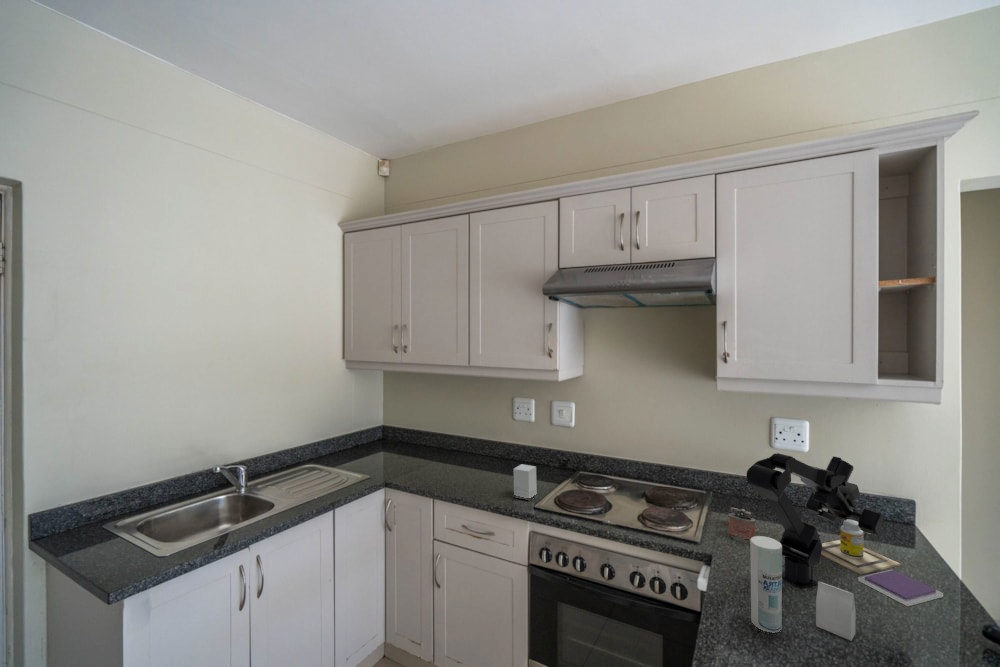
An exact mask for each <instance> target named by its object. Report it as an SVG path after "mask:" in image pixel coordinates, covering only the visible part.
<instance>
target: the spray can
mask: <svg viewBox="0 0 1000 667" xmlns="http://www.w3.org/2000/svg"><path fill="white" fill-rule="evenodd" d="M749 544H750V545H749V546H750V549H749V550H750V551H749V553H750V560H749V561H750V620H751V624H752V623H753V624H754V625H755V626H756V627H758V628H759V629H761V630H763V631H767V632H772V633H775V632H779V631H780V630H781V631H782V627H783V626H782V623H783V622H782V620H783V619H782V618H783V617H782V614H783V613H782V610H783V605H782V604H783V603H782V602H783V601H782V600H783V593H782V591H783V590H782V589H783V578H782V573H783V555H782V545H781V543H780V541H778V540H777V539H774V538H773V537H772V538H771V537H768V536H764V535H755V536H754V537H752V538H751V540H750V543H749ZM753 624H752V625H753ZM756 627H755V628H756ZM781 631H780V632H781Z"/></svg>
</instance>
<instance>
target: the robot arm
mask: <svg viewBox="0 0 1000 667" xmlns="http://www.w3.org/2000/svg"><path fill="white" fill-rule="evenodd" d="M777 469H780V470H782V471H783V472H782V471H780V470H777ZM853 471H854V466H853V465H852V464H850V463H849V462H848V461H845V460H843V459H842V458H841V457H840V456H839V457H838V456H835V455H834V456H832V458H831V459H830V460H829V463H828V465H827V466H826V469H824V468H820V467H816V466H814V465H813V466H812V465H808V463H807V464H806V463H804V462H803V461H800V460H798V459H796V458H795V457H793V456H792V455H787V454H782V453H779V452H777V453H773V454H771V456H769V457H767V458H764V459H761V460H758V461H756V462H755V463H753V464H752V465H751V466H750V467H749V468H748V469H747V471H746V481H747V482H748V485H749V486H750V487H751V488H752V489H753V490H755V491H756V492H757V493H759V494H761V495H762V496H763V497H765V499H766V501H767V503H768V505H769V506H770V508H771V509H772V511H773V512H774V515H775V516H776V518H777V519H778V521H779V522H780V524H781V526H782V527H783V529H784V531H783V532H782V537H781V539H780V541H779V542H780V543H781V545H782V556H784V573H783V572H782V579H784V580H785V581H787V582H789V583H790V584H792V585H794V587H797V588H798V589H803V588H808V587H812V586H818V581H816V580H815V579H813V577H814V566H816V565H819V564H820V560H821V556H822V555H821V551H822V540H821V538H820V537H821V534H819V533H818V530H817V529H816V527H815V526H814V525H813V524H809V523H807V522H804V521H803V520H802V519H801V518H800V516H799V514H798V512H797V511H796V508H795V507H794V506H793V504H792V501H791V500H790V498H789V497H788V495H787V493H786V491H785V490H786V489H787V487H788V485H790V483H791V482H792V475H793V476H796V477H798V478H800V479H799V480H800V481H801V482H802V483H803V484H804V485H806V486H809V487H813V488H814V491H813V492H810V494H809V496H808V498H807V500H806V502H805V504H804V505H805V509H806V510H807V511H808V512H809V513H812V514H814V515H816V516H818V517H821V518H823V519H826V520H829V521H831V522H833V523H838V519H841V520H843V521H844V520H847V519H848V518H849V517H851V518H854V519H857V520H858V521H857V522H858V526H859V528H860V530H862V531H863V533H866V534H868V535H870V536H871V535H872V534H873V535H876V534H878V533H879V531H880V529H881V526H882V525H883V522H884V520H885V517H884V515H883V514H882V512H881V511H877V510H874V509H872V508H869V507H865V508H863V510H862V511H861V510H858V509H856V508H855V507H856V505H857V503H856V502H855V501H856V500H857V499H858V498H859V497H860V496H861V493H860V489H859V485H857V484H855V483H853V482H849V479H850V478H851V475H852V474H853Z"/></svg>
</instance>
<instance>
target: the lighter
mask: <svg viewBox="0 0 1000 667" xmlns="http://www.w3.org/2000/svg"><path fill="white" fill-rule="evenodd" d="M730 512H731V513H728V538H730V539H732V538H733V539H732V540H735V539H736V540H735V541H737V542H741V543H745V544H750V540H751V538H752V537H754V536H756V519H755V518H753V517H752V512H751V511H748V510H746V509H743V508H742V509H739V508H736V507H730Z"/></svg>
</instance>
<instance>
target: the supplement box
mask: <svg viewBox="0 0 1000 667" xmlns="http://www.w3.org/2000/svg"><path fill="white" fill-rule="evenodd" d="M512 470H513V496H514V495H516V496H520V497H524V498H531V497H533V496H534V495H536V494H538V492H537V490H538V488H537V466H534V465H530V464H529V465H528V464H522V463H521V464H518V466H516V467H514V468H513V469H512Z"/></svg>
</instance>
